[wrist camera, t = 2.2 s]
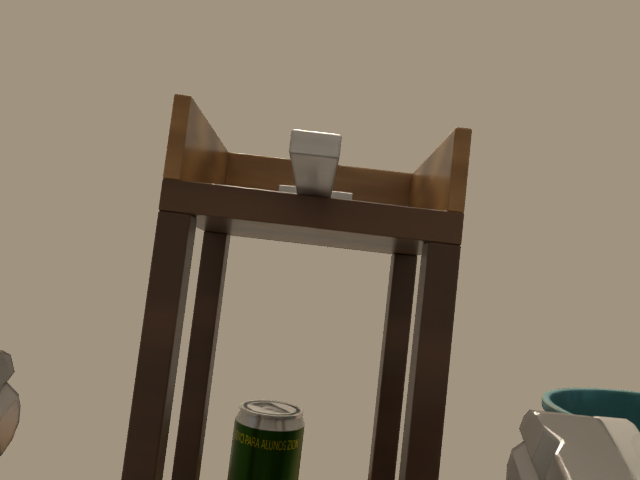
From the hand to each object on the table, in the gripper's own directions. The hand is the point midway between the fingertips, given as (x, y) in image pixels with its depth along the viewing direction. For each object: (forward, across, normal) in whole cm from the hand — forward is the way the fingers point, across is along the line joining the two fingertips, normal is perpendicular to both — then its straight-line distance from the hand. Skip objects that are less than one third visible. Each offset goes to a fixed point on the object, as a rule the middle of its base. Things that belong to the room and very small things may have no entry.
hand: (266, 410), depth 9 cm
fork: (+18, 0, +3) cm, 18 cm away
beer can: (+19, +2, +34) cm, 40 cm away
